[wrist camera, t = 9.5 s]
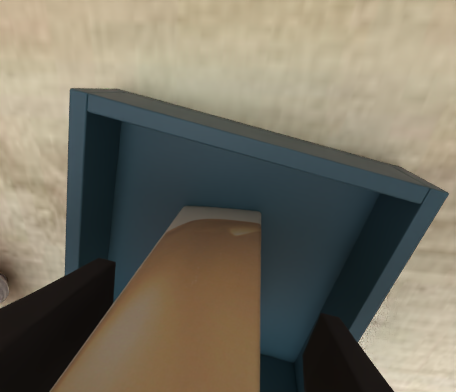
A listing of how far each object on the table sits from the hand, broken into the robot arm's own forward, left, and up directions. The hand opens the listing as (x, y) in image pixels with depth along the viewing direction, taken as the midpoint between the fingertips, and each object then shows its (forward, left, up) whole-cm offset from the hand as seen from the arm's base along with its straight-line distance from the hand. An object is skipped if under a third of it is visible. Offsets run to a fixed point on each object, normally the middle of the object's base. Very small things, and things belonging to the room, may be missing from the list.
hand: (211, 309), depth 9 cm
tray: (0, +2, -6) cm, 7 cm away
